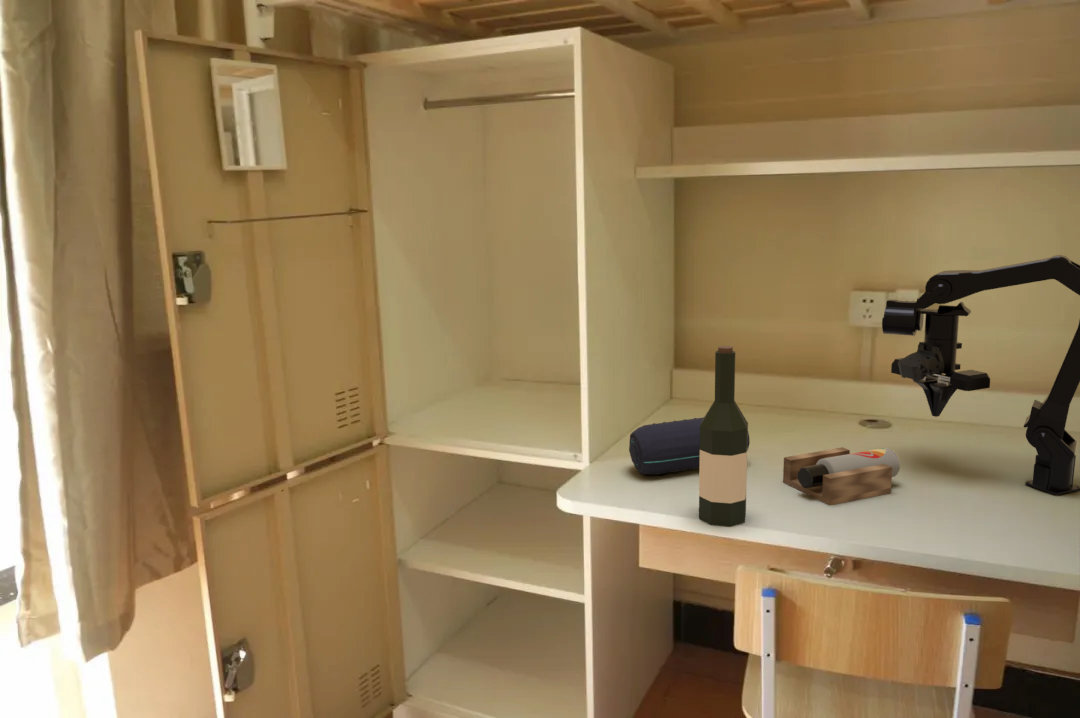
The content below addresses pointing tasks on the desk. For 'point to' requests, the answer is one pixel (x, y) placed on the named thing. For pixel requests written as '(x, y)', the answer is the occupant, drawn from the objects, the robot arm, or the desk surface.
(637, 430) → the portable speaker
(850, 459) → the lotion bottle
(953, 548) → the desk surface
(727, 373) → the wine bottle
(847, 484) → the cradle
